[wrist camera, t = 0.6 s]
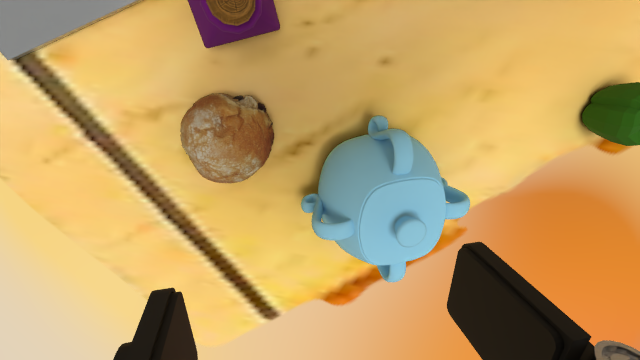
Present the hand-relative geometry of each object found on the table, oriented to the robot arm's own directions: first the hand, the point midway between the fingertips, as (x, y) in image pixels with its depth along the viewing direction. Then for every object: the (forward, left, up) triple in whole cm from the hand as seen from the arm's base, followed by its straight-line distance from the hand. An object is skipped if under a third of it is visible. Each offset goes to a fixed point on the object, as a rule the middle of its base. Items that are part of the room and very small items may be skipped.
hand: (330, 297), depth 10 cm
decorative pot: (-8, +14, -30) cm, 34 cm away
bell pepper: (-45, +20, -30) cm, 57 cm away
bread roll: (+5, 0, -30) cm, 30 cm away
